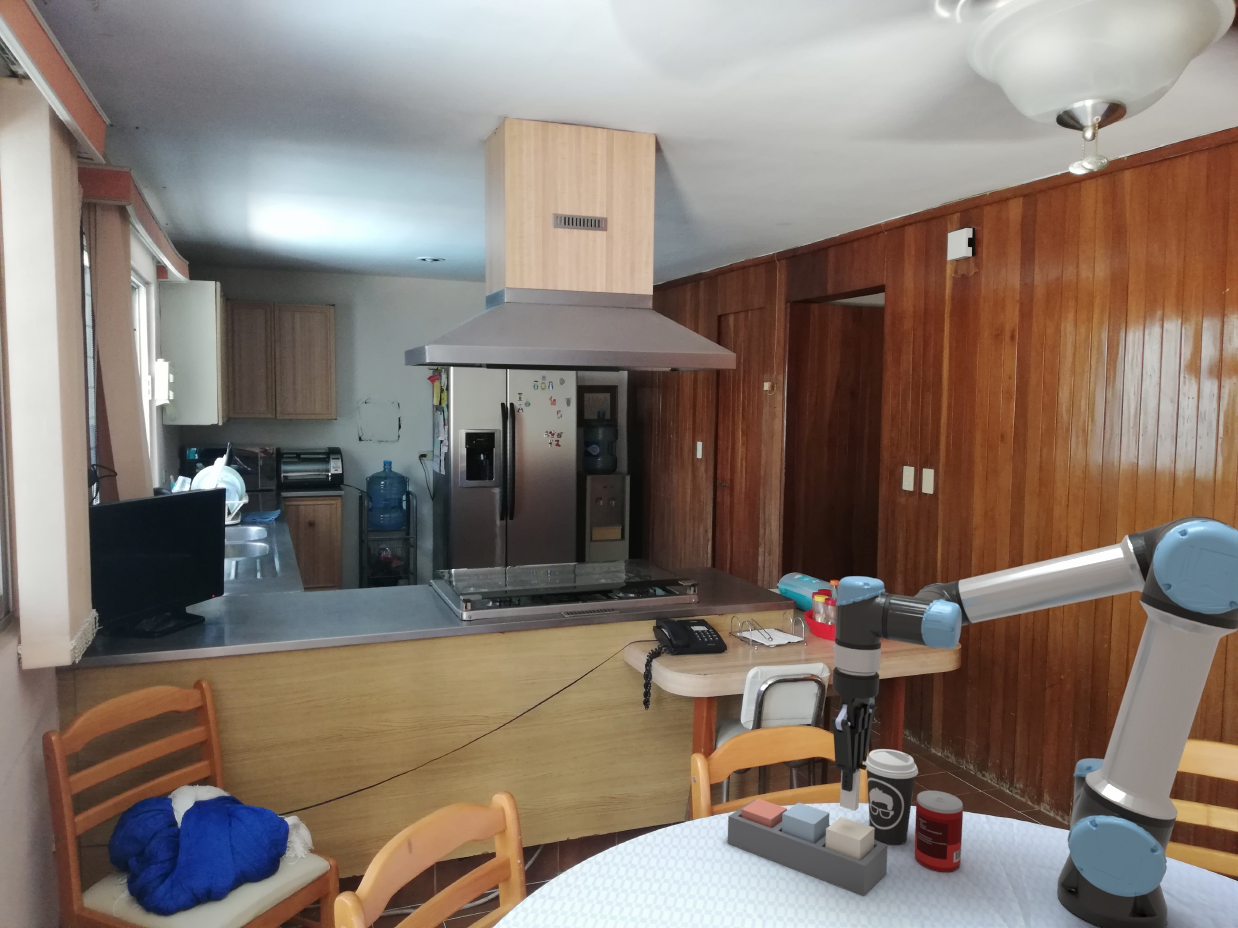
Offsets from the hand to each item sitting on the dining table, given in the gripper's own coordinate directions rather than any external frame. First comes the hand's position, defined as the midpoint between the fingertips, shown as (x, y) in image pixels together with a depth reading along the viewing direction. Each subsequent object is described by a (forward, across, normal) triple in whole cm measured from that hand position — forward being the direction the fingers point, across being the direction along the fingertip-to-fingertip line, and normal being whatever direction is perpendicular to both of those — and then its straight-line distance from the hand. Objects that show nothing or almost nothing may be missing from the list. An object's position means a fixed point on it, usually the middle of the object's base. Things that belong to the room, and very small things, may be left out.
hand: (849, 806), depth 141 cm
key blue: (+8, 0, -8) cm, 11 cm away
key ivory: (+8, 0, 0) cm, 8 cm away
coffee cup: (+12, -18, 0) cm, 22 cm away
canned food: (+12, -15, +10) cm, 22 cm away
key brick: (+10, 0, -16) cm, 19 cm away
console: (+12, 0, -8) cm, 14 cm away
